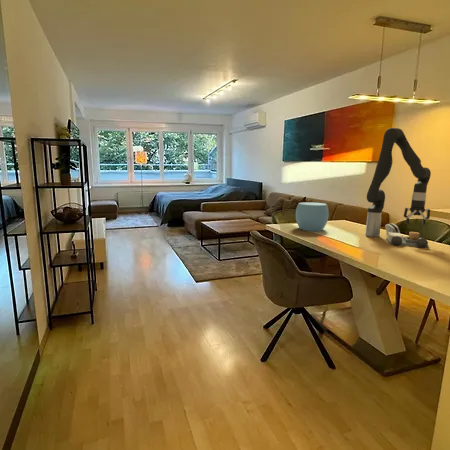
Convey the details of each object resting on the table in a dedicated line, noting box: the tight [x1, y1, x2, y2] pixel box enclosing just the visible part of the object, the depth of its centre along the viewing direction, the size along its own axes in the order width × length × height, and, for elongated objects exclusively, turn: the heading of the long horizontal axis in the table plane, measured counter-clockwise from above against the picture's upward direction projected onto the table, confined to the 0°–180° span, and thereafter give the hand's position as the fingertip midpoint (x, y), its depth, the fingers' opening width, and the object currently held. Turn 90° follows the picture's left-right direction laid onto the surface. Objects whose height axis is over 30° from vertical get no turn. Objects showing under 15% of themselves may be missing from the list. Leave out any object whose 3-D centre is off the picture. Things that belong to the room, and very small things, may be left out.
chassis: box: [385, 231, 430, 249], centre depth 212 cm, size 22×20×6 cm
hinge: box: [384, 223, 404, 239], centre depth 237 cm, size 17×5×10 cm, turn 175°
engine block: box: [408, 231, 421, 240], centre depth 210 cm, size 5×5×6 cm
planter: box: [295, 201, 330, 232], centre depth 255 cm, size 25×25×20 cm
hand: (415, 224), depth 209 cm, fingers open, 8 cm apart
